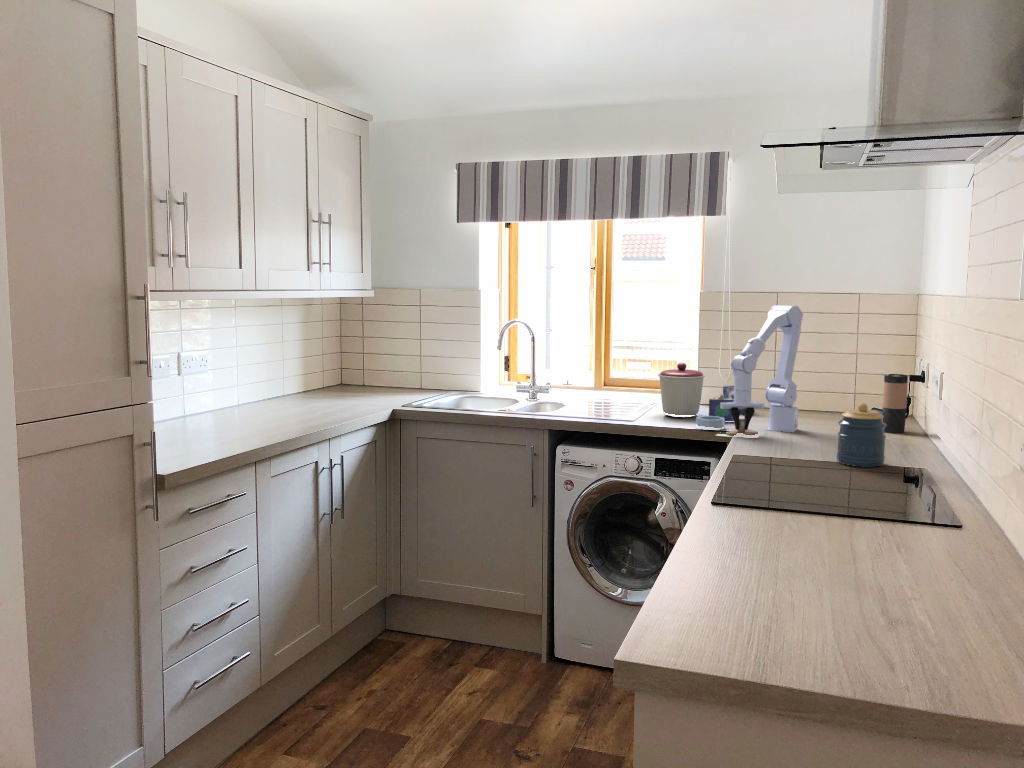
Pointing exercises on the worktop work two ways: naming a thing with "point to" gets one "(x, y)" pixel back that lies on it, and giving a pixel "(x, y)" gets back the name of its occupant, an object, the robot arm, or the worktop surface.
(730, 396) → the small box
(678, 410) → the canister
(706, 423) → the bowl
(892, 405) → the travel mug
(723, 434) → the mat
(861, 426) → the canister
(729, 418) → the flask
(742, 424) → the lid
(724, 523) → the worktop surface
